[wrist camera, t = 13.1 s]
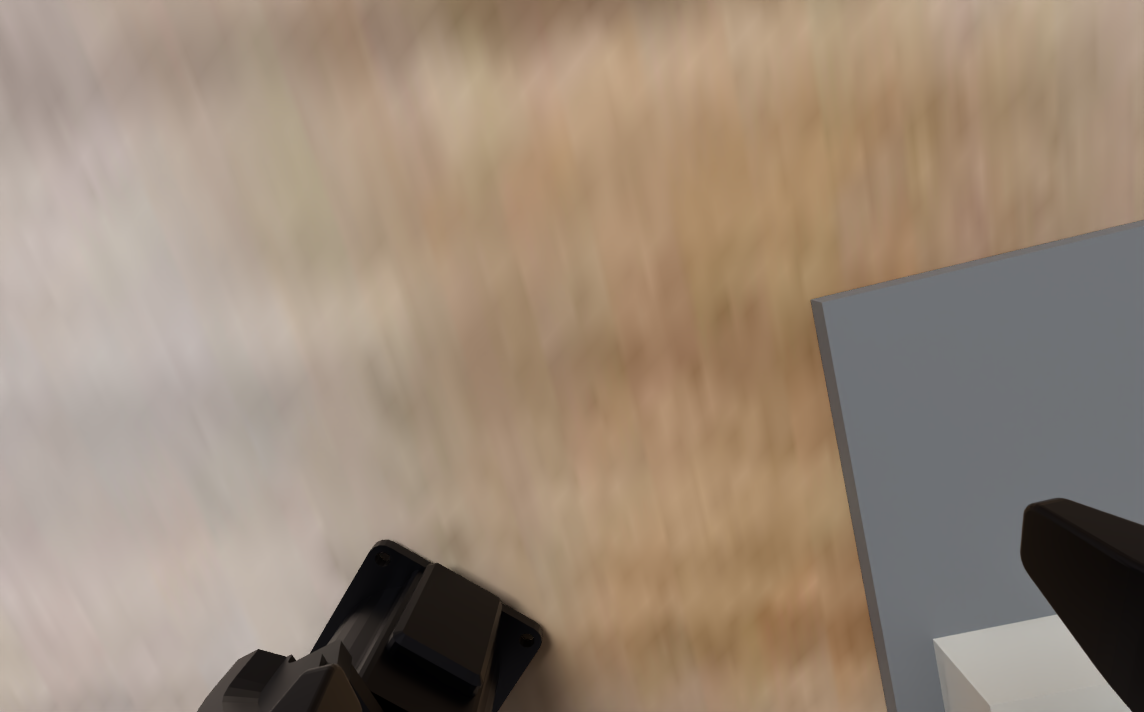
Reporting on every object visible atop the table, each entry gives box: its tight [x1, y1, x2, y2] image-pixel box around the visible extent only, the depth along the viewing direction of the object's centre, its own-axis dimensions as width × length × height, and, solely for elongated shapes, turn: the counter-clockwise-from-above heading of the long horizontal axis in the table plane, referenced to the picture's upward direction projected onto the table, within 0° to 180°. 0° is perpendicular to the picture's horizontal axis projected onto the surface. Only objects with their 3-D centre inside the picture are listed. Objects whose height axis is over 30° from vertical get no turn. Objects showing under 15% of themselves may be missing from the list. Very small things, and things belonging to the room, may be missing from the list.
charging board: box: [811, 220, 1144, 712], centre depth 21 cm, size 22×12×1 cm, turn 14°
